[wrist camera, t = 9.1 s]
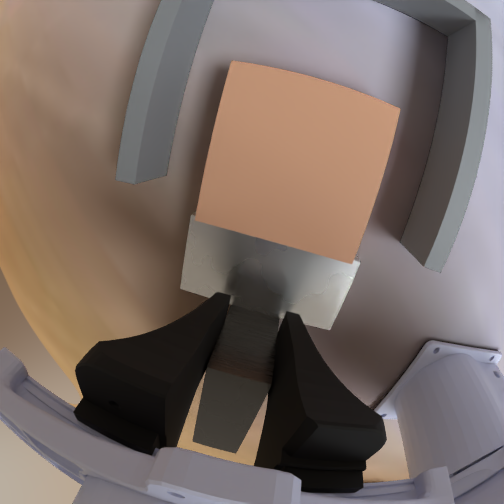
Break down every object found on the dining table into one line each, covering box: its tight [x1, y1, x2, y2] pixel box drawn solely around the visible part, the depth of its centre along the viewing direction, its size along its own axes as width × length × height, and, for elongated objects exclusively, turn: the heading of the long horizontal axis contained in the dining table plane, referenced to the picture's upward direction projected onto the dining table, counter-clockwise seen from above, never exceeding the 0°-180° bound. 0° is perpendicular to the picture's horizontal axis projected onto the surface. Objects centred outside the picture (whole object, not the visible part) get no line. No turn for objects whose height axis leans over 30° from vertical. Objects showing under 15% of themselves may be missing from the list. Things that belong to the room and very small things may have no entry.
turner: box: [180, 212, 361, 453], centre depth 13 cm, size 11×8×6 cm
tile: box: [195, 61, 400, 264], centre depth 11 cm, size 7×7×2 cm
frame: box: [115, 0, 492, 273], centre depth 9 cm, size 14×13×3 cm
